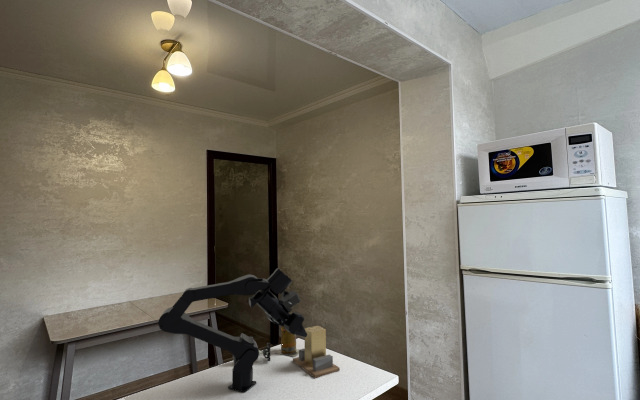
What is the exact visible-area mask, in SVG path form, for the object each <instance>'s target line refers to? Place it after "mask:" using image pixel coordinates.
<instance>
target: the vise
mask: <svg viewBox="0 0 640 400" xmlns="http://www.w3.org/2000/svg"><path fill="white" fill-rule="evenodd" d="M333 359H334V357H333V355H331V354H326V356H322V357H318V358H314V359H313V367H310V366H309V365H308V364H306V363H305V347H304V348H301V349H300V350H299V354H298V356H296V357H293V358H292V362H293V363H294V364H296V365H298V367H300V368H301V369H303V370H304V372H306V373H308V374H309V375H311V376H312V377H313V378H314V379H316V378H321V377H323V376H327V375H330V374H333V373H336V372H340V367H339V366H338V365H337V364H335V363H333V362H334V361H333Z"/></svg>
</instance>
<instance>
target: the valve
mask: <svg viewBox="0 0 640 400" xmlns="http://www.w3.org/2000/svg"><path fill="white" fill-rule="evenodd" d="M258 350H259V349H258ZM261 355H263V357H264V358H265V359H266V362H271V355H272V354H271V343H270V342H267V343H266V346H265V347H264V348H263V349H262V350H261V349H260V350H259V357H260V356H261Z"/></svg>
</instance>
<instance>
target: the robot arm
mask: <svg viewBox="0 0 640 400" xmlns="http://www.w3.org/2000/svg"><path fill="white" fill-rule="evenodd" d="M292 282H293V280H292V279H291V278H290V277H289V276H288V274H285V273H284V272H283V271H282V270H281V269H280V268H279V267H278V268H276V269H275V270H274V271H273V273H271V275H270V276H268V277H267V279H266V278H261V277H260V278H259V277H257V276H256V275H253V274H251V273H250V274H246V275H243V276H239V277H237V278H235V279H233V280H230V281H226V282H220V283H215V284H209V285H204V286H198V287H188V288H186V289H185V290H184V291H183V293H182V294H181V295H180V297H178V299H177V301H175V303H174V304H173V305H172V306H171V307H168V308H166V309H165V310H164V311H163V312H162V314H161V315H160V317H159V319H158V328H159V329H160V331H163V332H165V333H168V334H174V335H187V336H190V337H192V338H195V339H198V340H199V341H202V342H205V343H207V344H209V345H213V346H214V347H217V348H220V349H222V350H225V351H227V352H229V353H230V354H232V361H233V367H232V369H231V371H232V373H231V374H232V375H231V376H232V377H231V380H232V381H231V382H232V384H229V385H228V387H227V388H228V390H233V391H238V392H241V393H247V391H249V390H250V389H251V388H252V387H254V386H255V385H257V380H256V381H255V380H253V379H254V375H253V373H254V372H253V371H254V370H253V369H254V367H253V365H254V363H255V362H257V360H259V357H260V356H259V347H258V344H257V342H256V340H255V339H254V337H253V336H248V335H246V334H244V333H243V332H241V333H240V336H233V335H231V334H228V333H226V332H224V331H221V330H219V329H217V328H214V327H212V326H209V325H206V324H204V323H201V322H199V321H197V320H195V319H193V318H192V317H190V315H188V313H186V311H187V310H188V308H189V307H190V306H191V305H192V303H194V302H199V301H204V300H205V301H206V300H210V299H216V298H221V297H226V296H231V295H232V296H249V297H248V304H249V306H250V308H252V309H253V308H254V307H255V305H257V306H259V308H261V310H263V312H264V313H265V314H266V318H267V319H268V320H269V321H270V322H272V323H273V324H275V325H277V326H280V327H282V326H283V327H284V328H285V329H286V330H287V331H288V332H290V333H291V334H295V335H296V336H300V337H304V338H305V337H306V336H307V332H306V331H305V327H304V325H303V322H304V321H305V317H304V316H303V314H301V313H299V312H297V311H293V312H292V308H293V307H294V306H295V305H297V304H299V303H300V302H301V298H300V295H299V294H298V292H296V291H293V290H292V291H291V290H289V291H287V288H288V287H289V286H290V285H291V284H292ZM270 289H271V291H272V292H273V293H274V294H273V293H272V292H271V291H270ZM275 294H276V295H277V294H278V295H279V294H280V298H278V297H277V296H276V295H275ZM291 312H292V313H291Z"/></svg>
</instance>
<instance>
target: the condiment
mask: <svg viewBox="0 0 640 400" xmlns="http://www.w3.org/2000/svg"><path fill="white" fill-rule="evenodd" d="M282 344H283V345H282ZM299 350H300V349H298V348H297V335H295V334H291V333H290V332H288V331H287V330H286V329H285V328H284V327H283V326H281V329H280V350H279V351H277V352H276V354H278V355H284V356H289V357H293V358H296V357H298V356H299Z"/></svg>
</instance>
